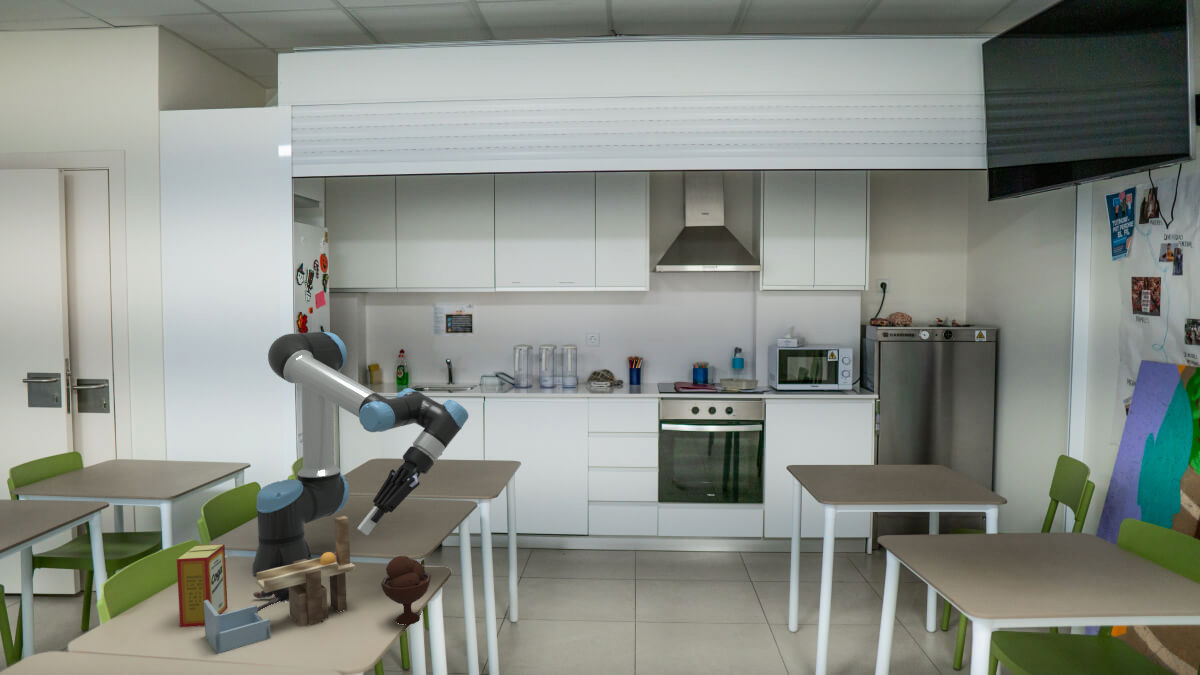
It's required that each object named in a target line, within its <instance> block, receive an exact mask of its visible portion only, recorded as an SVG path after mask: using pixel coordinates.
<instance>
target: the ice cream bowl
mask: <svg viewBox="0 0 1200 675" xmlns="http://www.w3.org/2000/svg"><path fill="white" fill-rule="evenodd" d="M385 571H386V574H387V576H385V577H384V578H383V579H382V581H381V583H380V585H381V588H382V591H383V593H384V595H385V596H386V597H388V598H389V599H390V600H391V601H393V602H394V603H397V604H399V605H402V606H403V612H402V613H400V614H399V615H398V616H396V619H395V622H397V623H399V624H404V625H403V626H409V625H415V624H416V623H418V622H419V621H420V620H421V616H420V614H418V613H416V612H413V610H412V605H413V603H414V602H416V601H419V600H420V599H421V598H423V596H424V595H425V594H426V593H427V591H428V588H429V586H430V583H431V577H432V574H430V573H428V572H426V571H425V566H424V565H423V564H422V563H421V562H419V561H418V560H416V559H413V558H410V557H409V556H406V555H398V556H396V557H393V558H392V559H391V560H390V561H389V562H388V563H387V566H386V568H385ZM397 623H396V624H397ZM405 624H406V625H405Z"/></svg>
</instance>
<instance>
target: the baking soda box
mask: <svg viewBox="0 0 1200 675" xmlns="http://www.w3.org/2000/svg"><path fill="white" fill-rule="evenodd" d="M225 546H226V545H225V543H223V544H222V543H219V544H218V543H217V544H216V543H215V544H199V545H198V544H197V545H196V544H195V546H194V547H193V546H192V548H190V549H189V550H188V551H186V552H185V553H184V554H182V555H180V557H178V558H177V559H176V568H177V569H176V571H177V572H176V573H177V593H178V613H179V627H180V628H188V627H205V626H204V625H205V617H204V601H205V600H208V601H209V602H210V603H211V605H212V606H213V607H214V609H215V610H216V611H217V613H218V614H219V615H220V614H224V612H225V611H226V610H227V609H228V590H227V589H228V588H227V587H228V586H227V571H226V569H227V568H226V551H225V549H226V548H225Z"/></svg>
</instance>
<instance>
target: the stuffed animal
mask: <svg viewBox="0 0 1200 675" xmlns="http://www.w3.org/2000/svg"><path fill="white" fill-rule="evenodd" d="M273 594H274V595H275V596H274V595H273ZM272 596H274V598H273V599H271V600H268V601H267V602H266V603H263V604H261V605H259V606H257V611H258V612H259V611H261V609H262V610H264V609H266V608H268V607H269V605H270V606H271V604H272V605H275V604H278V603H279V601H280V602H283V601H282V600H286V601H287V602H289V587H286V588H283V589H279V590H275V591H271V592H267V593H265V592H264V591H263V590H261V591H254V592H253V597H254V598H255V599H260V600H261V599H265V598H271V597H272ZM277 602H278V603H277ZM274 603H275V604H274ZM267 606H268V607H267ZM265 607H266V608H265ZM263 608H264V609H263Z"/></svg>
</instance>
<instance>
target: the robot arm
mask: <svg viewBox="0 0 1200 675" xmlns="http://www.w3.org/2000/svg"><path fill="white" fill-rule="evenodd" d="M347 358H348V351H347V347H346V345H345V343H344V341H343V340H342V339H341V338H340V337H339V336H338V335H337V334H335V333H333V332H331V331H330V332H329V331H314V332H313V331H312V332H301V333H287V334H284V335H282V336H279V337H277V338H276V339H275V340H274V341H273V342H272V343H271V345H270V347H269V349H268V353H267V361H268V364H269V366H270V368H271V370H272V372H274V373H275V375H277V376H278V377H279V378H281V379H282V380H285V382H288V383H290V384H299V385H300V386H301V418H302V419H301V420H302V421H301V423H302V424H301V425H302V429H301V430H302V432H301V433H302V434H301V435H302V467H301V469H300V470H299V471H298V472H297V479H284V480H281V481H280V480H278V481H275V482H272V483H269V484H267V485H264V486H263V487H262V488H261V489H260V490H259V491H258V492H257V495H256V507H255V508H256V514H257V516H256V517H257V533H258V534H257V535H258V536H257V538H258V545H257V549H256V553H255V555H254V560H253V563H252V574H254V576H255V577H256V573H257V572H261V571H265V570H269V569H274V568H278V567H282V566H286V565H290V564H293V562H295V561H299V560H303V559H307V560H311V559H313V554H312V553H311V552H312V551H311V550H310V548H309V546H308V542H307V541H306V537H305V524H308V523H310V522H313V521H317V520H319V519H322V518H326V517H327V518H328V517H331V515H332V516H333V514H335V513H337V512H339V511H341V510H342V509H343V508H344V507H345V506H346V504H347V502H348V500H349V498H350V497H349V496H350V487H349V483H348V481H346V480H347V479H346V477H345V476H344V475H343V474H341V469H340V468H339V467H338V466H337V465H336V463H335V416H334V412H335V411H334V407H335V406H334V405H336V406H338V407H340V408H342V409H344V410H345V411H347V412H349V413H351V414H352V415H354V416H355V417H356V418H358V419H359V423H360V425H361V426H362V427H363V429H364V430H365V431H367V432H369V433H380V432H386V431H388V430H391V429H392V430H393V429H396V428H400V427H405V426H409V425H412V424H415V425H418V426H419V427H421V428H423V429H422V431H421V432H420V433H419V434H418V436H417V437H416V438H415V440H414V441H413V442H412V445H413V446H409V447H408V449H407V450H406V451H405V452H404V454H403V455H402V459H403V461H404V462H403V463H402V464H401V465H400V466H399V467H398V469H397V470H394V469H391V470H390V472H389V473H388V476H387V478H386V480H384V482H383V484H382V486H381V488H380V489H379V490H378V492H377V494H376V495H375V497H374V498H373V500H372V502H373V503H374V504H373V505H374V506H373V507H372V508H371V510H369V512H368V514H367V515H366V516H365V517H364V519H363V520H362V521H361V523H360V524H359V525H358V527H357V528H356V529H357V530H359V531H360V532H362V533H363V534H364V535H366V536H369V534H370V533H371V532H372V530H373V529H374V528H375V527H376V525H377V524H378V523H379V522H380V520H381V519H382V518H383V516H384V515H385V514H387V513H388V512H389V513H393V511H394V510H396V508H397V507H398V506H399V505H400V504H401V503H402V502H403V501H405V499H406V498H407V497H408V496H409V495H410V494H411V493H412V491H414V490H415V489H416V488H418V487H419V486H420V485H421V482H419V481H418V478H419V477H420V475H421V474H423V475H425V474H428V473H429V471H430V470H431V468H432V467H433V466H434V463H435V461H437V460H438V459H439V458H440V457H441V456H442V455H443V452H444V451H445V450H446V448H448V446H449V444H450V443H451V442H452V440H453V439H454V438H455V437H456V435H457V434H458V433H459V432H460V430H462V428H463V427H464V425H465V423H466V422H467V420H468V419H469V413H468V410H467V409H466V408H464V406H463V405H461V404H460V403H459V402H457V401H455V400H452V399H447V400H446V401H445V402H444V403H439V402H438V401H435V400H433V399H432V398H430V397H428V396H427V395H425V394H423V393H422V392H420V391H419V390H415V389H414V388H413V389H412V388H409V387H408V388H407V387H406V388H403V390H402V391H399V392H398V393H397V395H396V396H395V397H393V398H386V397H384V396H383V395H380V394H379V393H377V392H375V391H373V390H371V389H370V388H368V387H367V386H365V385H362V383H359V382H357V381H356V380H353V379H352V378H350V377H348V376H346V375H344V374H343V373H341V372H340V370H341V369H343V367H344V366H345V364H346V363H347Z"/></svg>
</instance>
